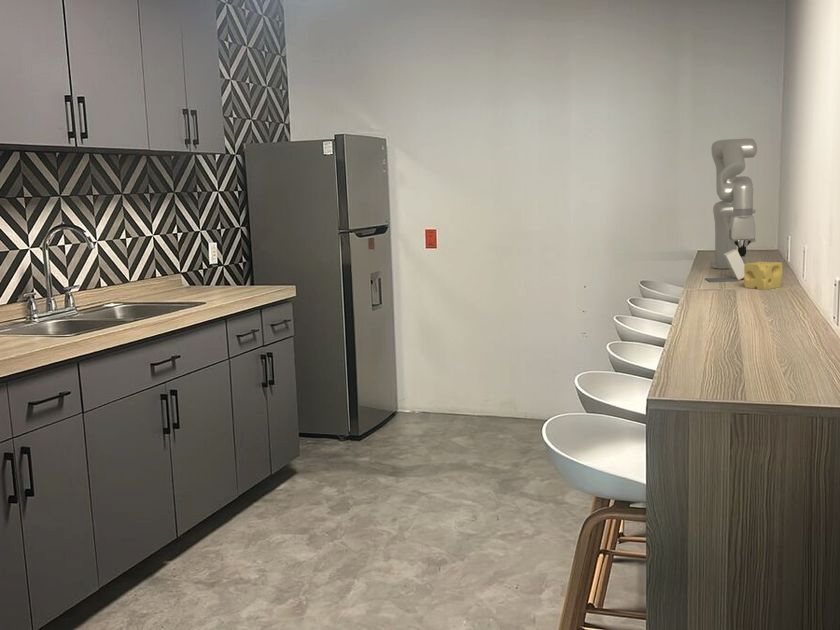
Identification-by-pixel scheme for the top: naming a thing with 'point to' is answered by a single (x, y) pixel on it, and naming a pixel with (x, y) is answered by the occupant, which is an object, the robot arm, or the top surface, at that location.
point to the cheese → (763, 275)
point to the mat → (721, 279)
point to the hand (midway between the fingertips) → (742, 256)
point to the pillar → (735, 263)
